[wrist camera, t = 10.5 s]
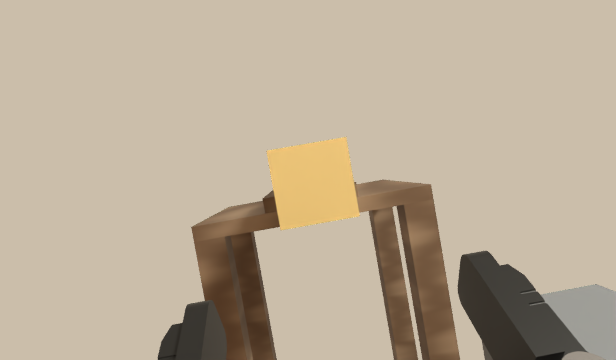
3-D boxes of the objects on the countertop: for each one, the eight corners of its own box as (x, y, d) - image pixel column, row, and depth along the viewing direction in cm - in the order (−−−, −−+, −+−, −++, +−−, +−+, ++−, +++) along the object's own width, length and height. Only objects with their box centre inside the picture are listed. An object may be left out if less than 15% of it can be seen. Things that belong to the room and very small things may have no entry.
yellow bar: (323, 190, 39) (317, 156, 39) (359, 216, 17) (346, 136, 17) (289, 196, 39) (283, 162, 38) (280, 230, 17) (266, 150, 16)
